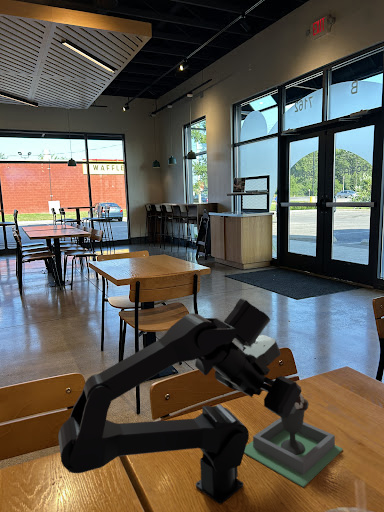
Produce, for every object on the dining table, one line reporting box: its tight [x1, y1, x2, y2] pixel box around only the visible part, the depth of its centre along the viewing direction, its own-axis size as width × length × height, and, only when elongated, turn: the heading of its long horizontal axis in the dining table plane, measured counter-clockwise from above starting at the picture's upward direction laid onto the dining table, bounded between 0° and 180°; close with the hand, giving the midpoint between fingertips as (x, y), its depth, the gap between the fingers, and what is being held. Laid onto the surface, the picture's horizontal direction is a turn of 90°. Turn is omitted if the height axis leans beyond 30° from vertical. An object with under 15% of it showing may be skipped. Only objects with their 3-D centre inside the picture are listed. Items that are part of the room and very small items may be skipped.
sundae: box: [280, 376, 310, 455], centre depth 79 cm, size 7×7×15 cm
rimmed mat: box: [244, 417, 344, 488], centre depth 79 cm, size 15×15×3 cm
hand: (276, 401), depth 76 cm, fingers open, 9 cm apart
